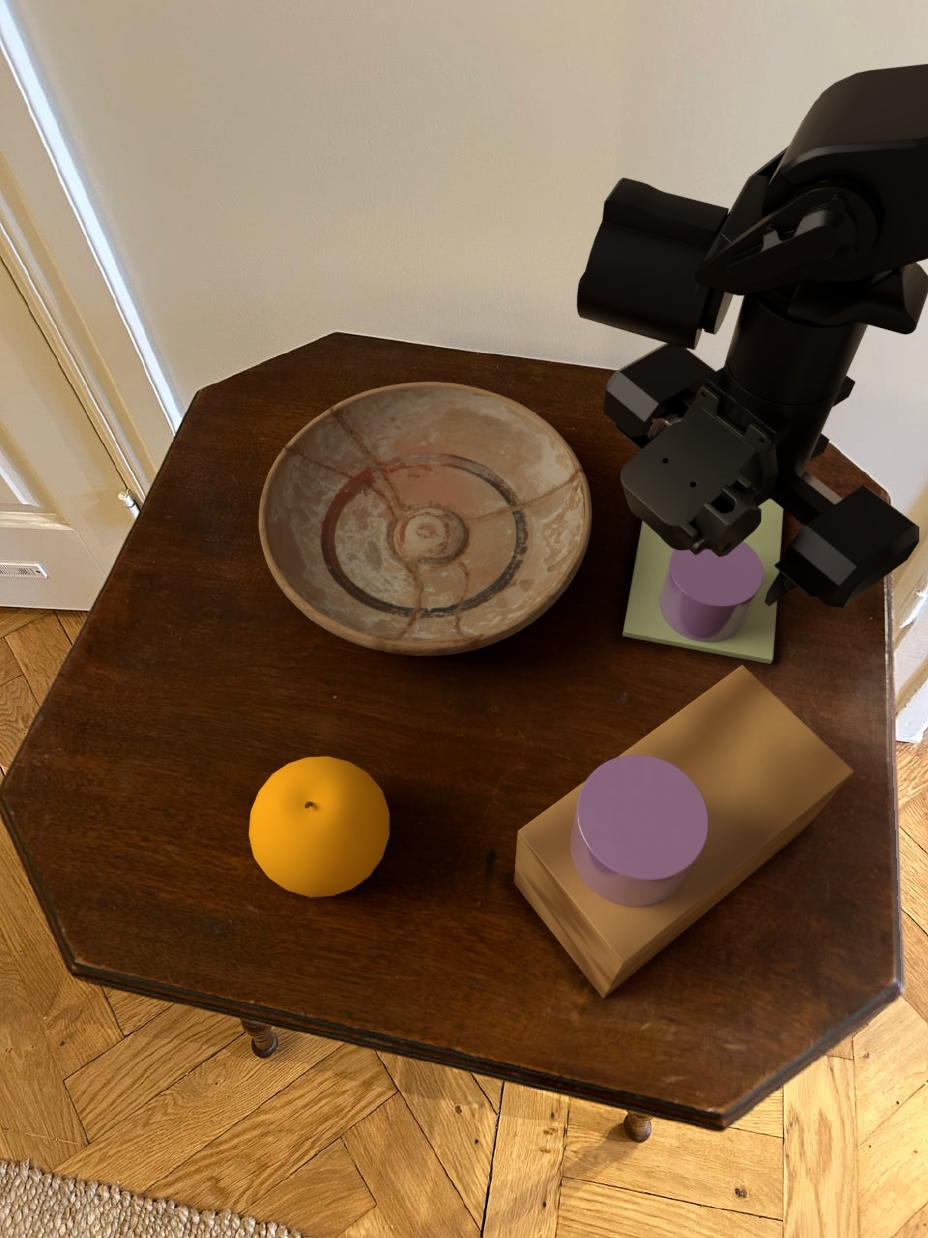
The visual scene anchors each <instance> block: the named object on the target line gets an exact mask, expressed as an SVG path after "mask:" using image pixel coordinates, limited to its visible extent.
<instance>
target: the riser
mask: <svg viewBox="0 0 928 1238" xmlns="http://www.w3.org/2000/svg"><path fill="white" fill-rule="evenodd" d="M626 755H648V756H653V757H657V758H660V759H663V760H665V761H667V762H669V763H671V764H673V765H675V766H676V767H678V768H679V769H681V770H682V771H683V772H684V773H685V774H686V775H688V776H689V777H690V778H691V780H692V781H693V782H694V783H695V784H696V786H697V787H698V789H699V790H700V792H701V794H702V796H703V798H704V801H705V803H706V806H707V811H708V816H709V831H708V836H707V840H706V843H705V846H704V848H703V850H702V852H701V853H700V855H699V857H698V858H697V860H696V862H695V863H694V865H693V866H692V868H691V870H690V871H689V873H688V875H687V876H686V878H685V879H684V881H683V883H682V884H681V885H680V887H679V888H678V889H677V890H676V891H675V892H674V893H673V894H672V895H670V896H669V897H668V898H666V899H664V900H662V901H660V902H658V903H655V904H652V905H648V906H642V907H630V906H623V905H619V904H616V903H613V902H610V901H608V900H606V899H604V898H602V897H601V896H599V895H598V894H596V893H595V892H594V891H593V890H592V889H590V888H589V887H588V886H587V884H586V883H585V882H584V881H583V880H582V878H581V877H580V875H579V874H578V872H577V870H576V868H575V866H574V863H573V860H572V856H571V852H570V834H571V828H572V824H573V820H574V815H575V811H576V806H577V802H578V797H579V794H580V791H581V789H582V787H583V785H584V783H585V781H583V782H582V783H580V784H579V785H578V786H576V787H575V788H574V789H572V790H571V791H569V793H567V794H565V795H564V796H563V797H562V798H560V799H559V800H557V801H556V802H555V803H553V804H552V805H550V806H549V807H548V808H546V809H545V810H543V812H541V813H540V814H538V815H537V816H536V817H535V818H533V819H531V820H530V821H529V822H528V823H526V824H525V825H524V826H522V827H521V828H520V829H518V830H517V837H516V851H515V861H514V875H513V884H514V885H515V886H516V887H517V889H518V891H519V892H520V893H521V894H522V896H524V898H525V899H526V900H527V902H528V903H529V904H530V906H531V907H532V909H533V910H534V911H535V913H536V914H537V915H538V916H539V917H540V919H541V920H542V921H543V923H544V924H545V925H546V926H547V928H548V929H549V931H550V932H551V933H552V934H553V935H554V937H555V938H556V939H557V941H558V942H559V944H560V945H561V946H562V947H563V949H564V950H565V951H566V953H567V954H568V955H569V956H570V957H571V959H572V960H573V961H574V963H575V964H576V965H577V966H578V968H579V969H580V971H581V972H582V973H583V975H584V976H585V977H586V979H588V981H589V982H590V984H591V985H592V987H594V988H595V990H596V991H597V993H598V995H600V996H601V998H602V999H605V998H606V997H607V996H609V995H610V994H611V993H613V992H614V991H615V990H616V989H617V988H618V987H620V986H621V985H622V984H623V983H624V982H625V981H627V979H629V978H630V977H632V975H634V974H635V973H636V972H638V970H640V969H641V968H642V967H643V966H644V965H646V963H648V962H649V961H650V960H651V959H652V958H654V957H655V956H656V955H657V954H659V953H660V952H661V951H662V950H663V949H664V948H666V947H667V946H669V944H670V943H672V942H673V941H674V940H675V939H676V938H677V937H679V936H680V935H682V933H684V932H685V931H686V930H687V929H688V928H690V927H691V926H692V925H693V924H694V923H695V922H696V921H698V920H699V919H700V918H701V917H703V916H704V915H705V914H706V913H707V912H708V911H709V910H711V909H712V908H713V907H714V906H715V905H717V904H718V903H719V902H720V901H722V900H723V899H724V898H725V897H726V896H727V895H728V894H730V893H731V892H733V890H734V889H736V888H737V887H738V886H739V885H740V884H742V883H743V882H744V881H745V880H746V879H747V878H749V877H750V876H751V875H752V874H753V873H755V872H756V871H758V869H759V868H761V867H762V866H763V865H764V864H766V862H768V861H769V860H770V859H772V858H773V856H775V855H776V854H777V853H778V852H780V851H781V850H782V849H783V848H785V847H786V846H787V845H788V844H789V843H791V841H793V840H794V839H795V838H796V837H797V836H799V835H800V834H801V833H802V832H803V831H804V830H805V829H807V826H809V825H810V824H811V823H812V821H813V820H814V819H815V818H816V817H817V815H818V814H819V813H820V812H821V811H822V809H823V808H824V807H825V806H826V805H827V804H828V802H830V800H831V799H832V798H833V797H834V796H835V794H836V793H837V792H838V791H839V790H840V789H841V788H842V787H843V785H844V784H845V783H846V782H847V780H849V778H850V777H851V776H852V775H853V773H854V772H855V771H854V769H853V768H852V767H851V766H850V765H849V764H847V762H846V761H844V760H843V759H842V757H840V755H838V754H837V753H836V752H835V751H834V750H832V748H831V747H830V746H829V745H828V744H826V743H825V741H824V740H822V739H821V738H820V737H819V736H818V735H817V734H816V733H815V732H814V731H813V730H812V729H811V728H810V727H808V725H806V723H804V722H803V721H802V720H801V719H800V718H799V717H798V716H797V715H796V714H795V713H794V712H793V711H792V710H791V709H790V708H789V707H787V706H786V704H784V702H782V701H781V699H779V698H778V697H777V696H776V695H775V694H774V693H773V692H772V691H771V690H769V688H768V687H766V685H764V684H763V683H762V681H760V680H759V679H758V678H757V677H756V676H755V675H754V674H753V673H752V672H751V671H750V670H749V669H748V668H747V667H745V665H743V664H742V665H740V666H738V667H737V668H736V669H734V670H733V671H732V672H730V673H729V674H728V675H726V676H725V677H724V678H722V679H721V680H719V681H718V682H717V683H716V684H714V685H712V687H710V688H709V689H708V690H706V691H705V692H703V693H702V694H700V695H699V696H698V697H697V698H695V699H694V700H693V701H691V702H690V703H688V704H687V705H685V706H684V707H683V708H681V709H680V710H679V711H678V712H676V713H675V714H674V715H673V716H671V717H669V718H668V719H667V720H666V721H664V722H663V723H661V724H660V725H659V726H657V727H656V728H655V729H653V730H652V731H651V732H650V733H649V732H648V734H646V735H645V736H644V737H643V738H641V739H640V740H638V741H637V742H635V744H633V745H632V746H630V747H629V748H627V749H626V750H625V751H623V753H621V754H619V755H618V756H617V757H621V756H626Z"/></svg>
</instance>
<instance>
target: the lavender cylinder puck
mask: <svg viewBox="0 0 928 1238" xmlns="http://www.w3.org/2000/svg"><path fill="white" fill-rule="evenodd" d="M584 782H585V783H584V785H583V787H582V789H581V791H580V794H579V797H578V802H577V806H576V811H575V815H574V820H573V824H572V828H571V834H570V852H571V856H572V860H573V863H574V866H575V868H576V870H577V872H578V874H579V875H580V877H581V878H582V880H583V881H584V882H585V883H586V884H587V886H588V887H589V888H590V889H592V890H593V891H594V892H595V893H596V894H598V895H599V896H601V897H602V898H604V899H606V900H608V901H610V902H613V903H616V904H619V905H623V906H630V907H642V906H648V905H652V904H655V903H658V902H660V901H662V900H664V899H666V898H668V897H669V896H670V895H672V894H673V893H674V892H675V891H676V890H677V889H678V888H679V887H680V885H681V884H682V883H683V881H684V879H685V878H686V876H687V875H688V873H689V871H690V870H691V868H692V866H693V865H694V863H695V862H696V860H697V858H698V857H699V855H700V853H701V852H702V850H703V848H704V846H705V843H706V840H707V836H708V831H709V816H708V811H707V806H706V803H705V801H704V798H703V796H702V794H701V792H700V790H699V789H698V787H697V786H696V784H695V783H694V782H693V781H692V780H691V778H690V777H689V776H688V775H686V774H685V773H684V772H683V771H682V770H681V769H679V768H678V767H676V766H675V765H673V764H671V763H669V762H667V761H665V760H663V759H660V758H657V757H653V756H648V755H626V756H621V757H618V756H617V757H614V758H612V759H610V760H607V761H606V762H604V763H602V764H601V765H599V766H598V767H597V768H595V769H594V770H593V771H592V772H591V773H590V774H589V775H588V776H587V778H586V780H585V781H584Z"/></svg>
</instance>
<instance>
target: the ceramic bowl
mask: <svg viewBox="0 0 928 1238" xmlns="http://www.w3.org/2000/svg"><path fill="white" fill-rule="evenodd" d="M264 482H265V483H264V485H263V488H262V492H261V496H260V501H259V509H258V532H259V538H260V544H261V548H262V552H263V555H264V558H265V561H266V563H267V566H268V569H269V571H270V573H271V575H272V576H273V578H274V580H275V583H276V584H277V585H278V587H279V588H280V589H281V590H282V592H283V594H284V595H285V596H286V597H287V599H288V600H289V601H290V602H292V604H293V605H294V606H295V607H296V608H297V609H298V610H299V611H300V612H301V613H303V614H304V615H305V616H306V617H307V618H308V619H309V620H311V621H312V622H314V623H315V624H317V625H318V626H320V627H321V628H323V629H325V630H326V631H327V632H330V633H331V634H333V635H335V636H337V637H339V638H341V639H343V640H346V641H348V642H350V643H352V644H355V645H358V646H361V647H364V648H368V649H371V650H377V651H380V652H386V653H391V654H396V655H402V656H412V657H413V656H414V657H417V656H419V657H421V656H422V657H423V656H424V657H437V656H449V655H457V654H461V653H462V654H463V653H467V652H470V651H472V652H473V651H476V650H479V649H482V648H485V647H487V646H491V645H494V644H496V643H498V642H501V641H503V640H505V639H507V638H509V637H511V636H513V635H515V634H517V633H519V632H520V631H522V630H523V629H525V628H526V627H527V626H529V625H531V624H533V623H534V622H535V621H536V620H538V619H539V618H540V617H541V616H543V615H544V614H545V613H546V612H547V611H548V610H549V609H550V608H551V607H552V606H553V605H554V604H555V603H556V602H557V601H558V600H559V599H560V597H561V596H562V595H563V594H564V592H565V591H566V590H567V589H568V587H569V586H570V584H571V583H572V581H573V579H574V578H575V576H576V574H577V572H578V571H579V569H580V567H581V564H582V562H583V559H584V558H585V555H586V551H587V548H588V546H589V541H590V537H591V531H592V522H593V521H592V520H593V509H592V507H593V506H592V497H591V492H590V491H591V490H590V487H589V482H588V480H587V476H586V474H585V471H584V469H583V466H582V465H581V463H580V461H579V459H578V457H577V456H576V454H575V451H573V449H572V447H571V446H570V445H569V444H568V443H567V441H566V440H565V439H564V437H563V436H562V435H561V434H560V433H559V432H558V431H557V430H556V429H555V428H554V427H553V426H552V425H551V424H550V423H549V422H547V421H546V420H545V419H544V418H542V417H541V416H540V415H539V414H537V413H536V412H534V411H532V410H531V409H530V408H527V407H526V406H525V405H523V404H521V403H519V402H518V401H515V400H513V399H512V398H509V397H506V396H504V395H501V394H498V393H496V392H492V391H489V390H486V389H482V388H479V387H475V386H469V385H465V384H461V383H453V382H441V381H419V382H416V381H415V382H406V383H398V384H391V385H384V386H381V387H377V388H373V389H368V390H366V391H363V392H360V393H357V394H355V395H352V396H351V397H348V398H346V399H344V400H342V401H339V402H338V403H336V404H334V405H333V406H331V407H329V408H328V409H327V410H325V411H324V412H322V413H321V414H319V415H317V416H316V417H314V418H313V419H312V420H311V421H310V422H308V423H307V424H306V425H305V426H304V427H302V429H300V430H299V431H298V432H297V433H296V434H295V435H294V436H293V437H292V438H291V439H290V440H289V442H287V444H286V445H285V446H284V447H283V448H282V450H281V452H280V453H279V454H278V455H277V457H276V459H275V461H274V462H273V464H272V466H271V468H270V470H269V472H268V473H267V476H266V478H265V481H264Z"/></svg>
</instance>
